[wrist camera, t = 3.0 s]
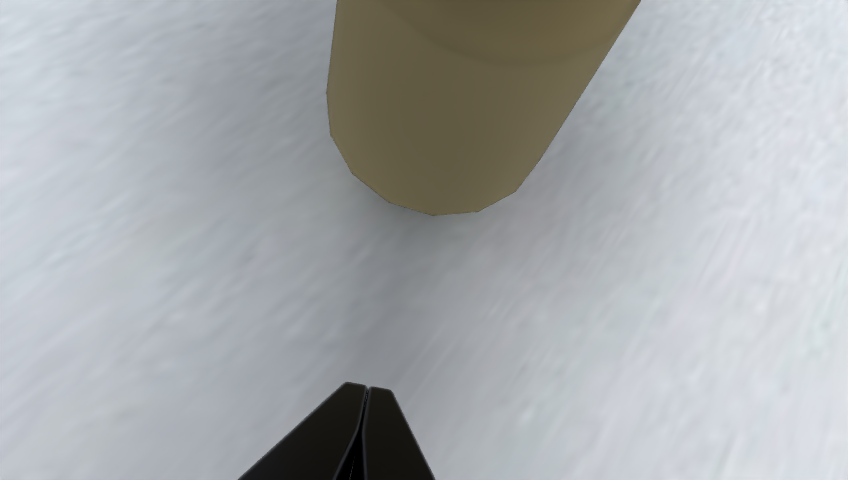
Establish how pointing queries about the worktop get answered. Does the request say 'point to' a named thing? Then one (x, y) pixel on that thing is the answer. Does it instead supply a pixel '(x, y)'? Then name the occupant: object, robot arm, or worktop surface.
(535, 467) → the worktop surface
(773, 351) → the worktop surface
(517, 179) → the squeeze bottle
